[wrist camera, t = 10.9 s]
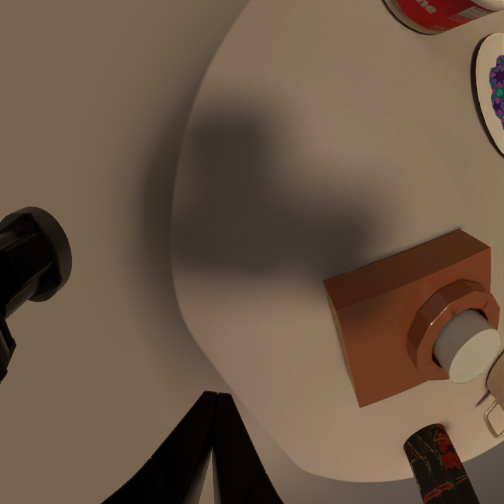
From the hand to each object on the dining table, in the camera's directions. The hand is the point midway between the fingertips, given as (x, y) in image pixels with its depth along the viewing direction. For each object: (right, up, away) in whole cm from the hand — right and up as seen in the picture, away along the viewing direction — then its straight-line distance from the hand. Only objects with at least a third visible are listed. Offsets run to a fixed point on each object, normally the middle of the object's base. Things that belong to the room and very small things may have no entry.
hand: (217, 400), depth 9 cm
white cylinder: (+15, -1, +8) cm, 17 cm away
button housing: (+13, 0, +14) cm, 19 cm away
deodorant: (+23, -19, +21) cm, 37 cm away
